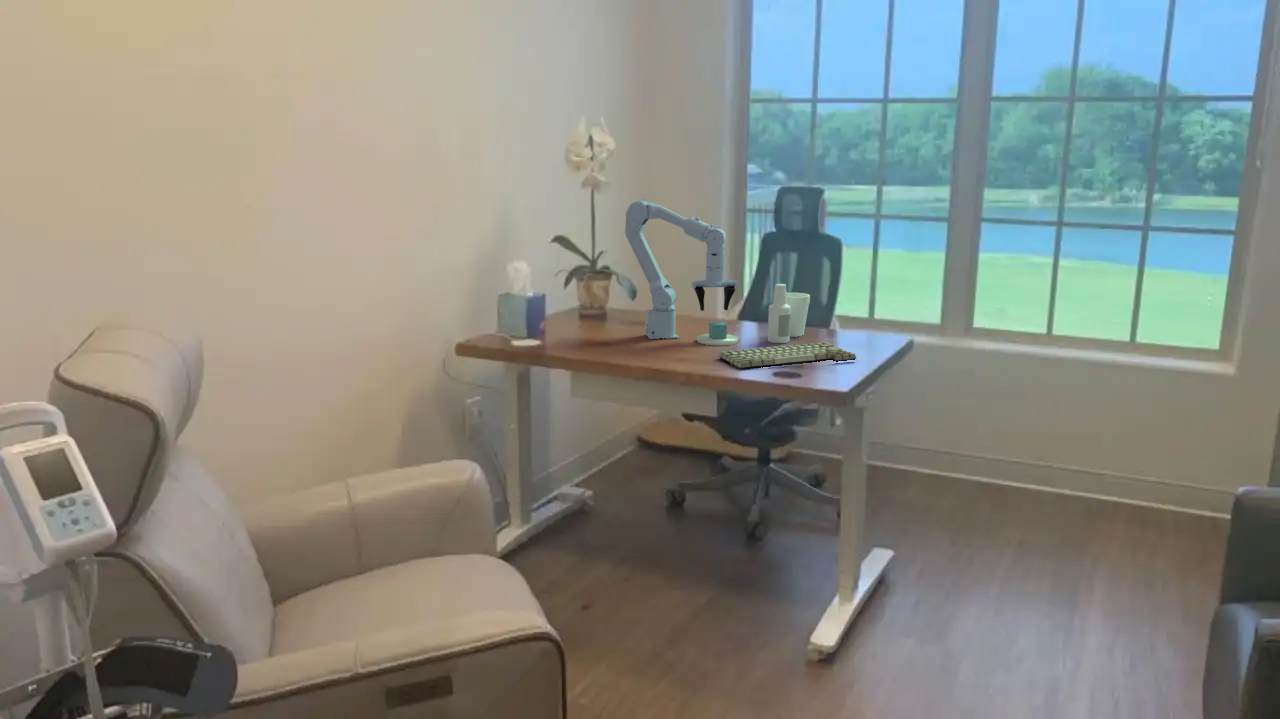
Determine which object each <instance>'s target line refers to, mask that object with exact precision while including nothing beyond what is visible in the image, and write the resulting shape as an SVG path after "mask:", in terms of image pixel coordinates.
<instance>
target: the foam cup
mask: <svg viewBox="0 0 1280 719" xmlns="http://www.w3.org/2000/svg"><path fill="white" fill-rule="evenodd" d="M786 298H787V303H786V304H788V305H789V306H790V307H791V317H790V338H791V337H793V338H795V337H796V338H797V337H798V336H799V337H803V336H804V334H805V329H806V324H807V323H806V322H807V316H808V312H809V305H810V303H811V302H810V301H811V294H808V293H803V292H787V295H786ZM802 335H803V336H802Z"/></svg>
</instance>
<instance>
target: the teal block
mask: <svg viewBox="0 0 1280 719" xmlns="http://www.w3.org/2000/svg"><path fill="white" fill-rule="evenodd" d="M727 326H728V325H727V324H726V323H725V322H724V321H717V322H715V321H713V322H712V321H710V322H708V334H709V337H710V338H711V339H726V337H727V334H728V333H727V332H728V330H727V328H728V327H727Z"/></svg>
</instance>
